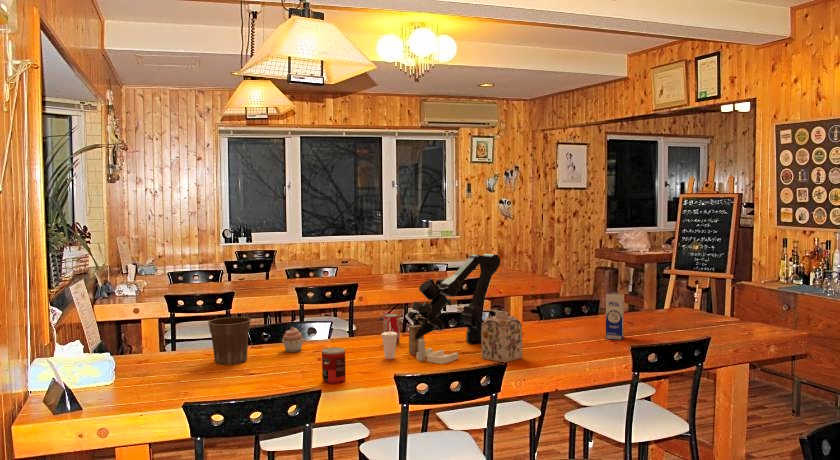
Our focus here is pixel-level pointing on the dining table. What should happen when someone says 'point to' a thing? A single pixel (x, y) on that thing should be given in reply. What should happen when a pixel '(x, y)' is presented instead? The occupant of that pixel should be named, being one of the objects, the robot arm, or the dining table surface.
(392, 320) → the soda can
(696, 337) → the dining table surface
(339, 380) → the canned food
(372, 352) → the dining table surface
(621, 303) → the milk carton
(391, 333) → the smoothie
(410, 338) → the brown long block
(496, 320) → the decorative jar
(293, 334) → the cupcake
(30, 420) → the dining table surface
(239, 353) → the plant pot
